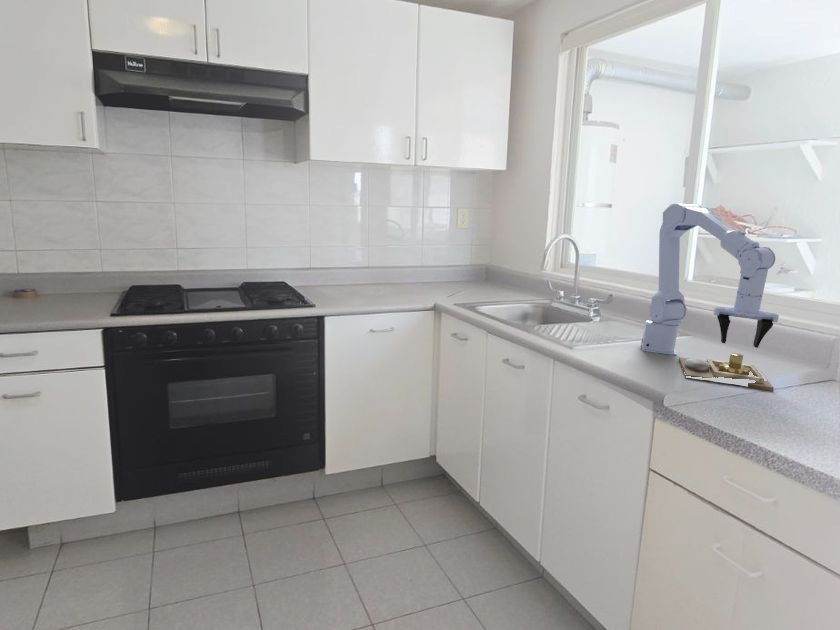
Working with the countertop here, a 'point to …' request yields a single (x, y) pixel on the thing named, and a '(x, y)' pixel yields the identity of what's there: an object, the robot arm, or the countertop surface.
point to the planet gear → (734, 365)
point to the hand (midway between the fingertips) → (739, 344)
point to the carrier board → (711, 370)
